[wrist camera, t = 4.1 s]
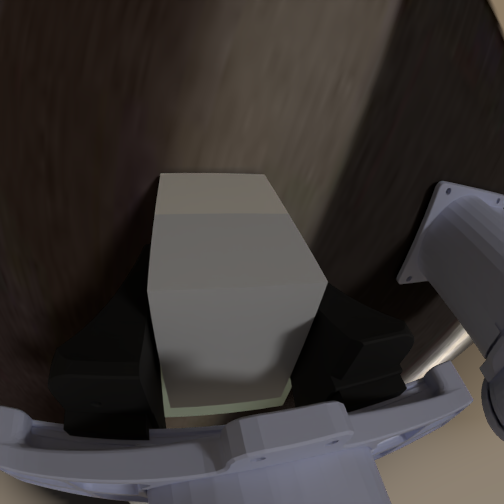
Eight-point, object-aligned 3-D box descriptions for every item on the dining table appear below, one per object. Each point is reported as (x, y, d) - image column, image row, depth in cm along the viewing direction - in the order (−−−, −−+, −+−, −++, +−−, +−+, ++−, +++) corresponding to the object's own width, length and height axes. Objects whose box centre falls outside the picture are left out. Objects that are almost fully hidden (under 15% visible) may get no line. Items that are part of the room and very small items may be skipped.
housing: (264, 174, 13) (328, 282, 8) (247, 284, 17) (280, 397, 12) (160, 173, 12) (147, 290, 7) (166, 287, 16) (170, 408, 10)
